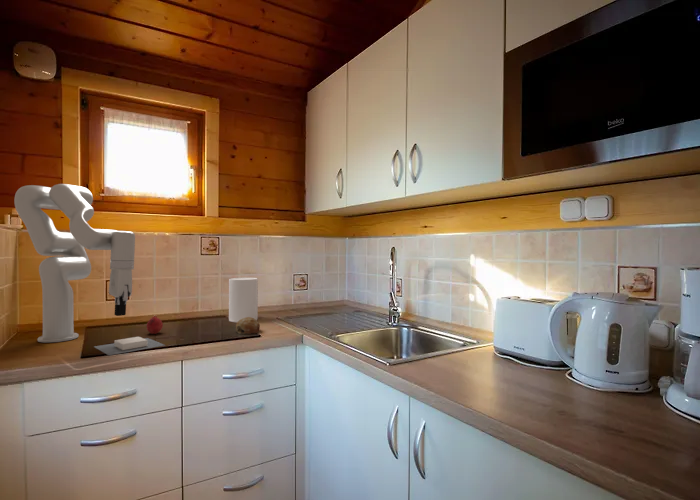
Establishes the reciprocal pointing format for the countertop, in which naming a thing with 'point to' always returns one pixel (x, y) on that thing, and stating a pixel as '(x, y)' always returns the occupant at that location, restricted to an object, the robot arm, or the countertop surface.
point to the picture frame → (130, 343)
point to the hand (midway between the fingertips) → (120, 315)
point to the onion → (154, 325)
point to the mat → (112, 350)
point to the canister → (243, 298)
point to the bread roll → (247, 326)
